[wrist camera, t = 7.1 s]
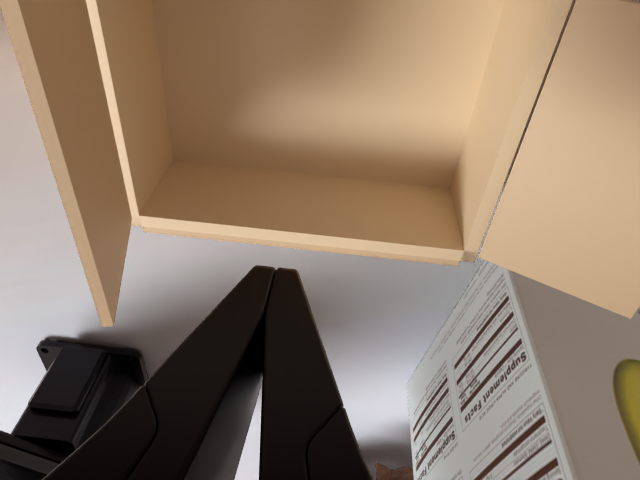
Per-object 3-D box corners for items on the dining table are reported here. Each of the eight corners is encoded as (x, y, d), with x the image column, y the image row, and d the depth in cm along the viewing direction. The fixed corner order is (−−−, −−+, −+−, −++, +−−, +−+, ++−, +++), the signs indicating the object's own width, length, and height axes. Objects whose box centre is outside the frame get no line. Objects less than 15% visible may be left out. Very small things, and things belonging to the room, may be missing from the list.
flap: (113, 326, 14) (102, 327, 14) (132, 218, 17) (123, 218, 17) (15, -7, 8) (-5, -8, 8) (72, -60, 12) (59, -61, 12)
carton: (455, 200, 22) (471, 269, 18) (167, 170, 22) (129, 232, 18) (543, -84, 15) (595, -60, 12) (124, -126, 15) (52, -116, 12)
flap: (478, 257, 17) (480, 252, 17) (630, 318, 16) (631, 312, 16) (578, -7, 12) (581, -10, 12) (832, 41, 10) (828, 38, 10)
